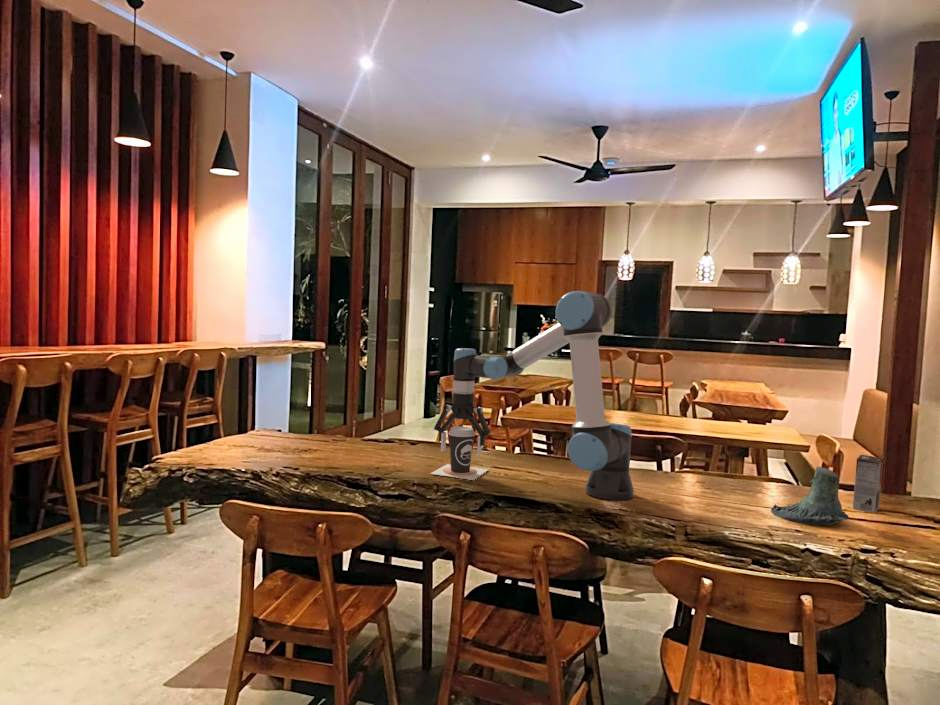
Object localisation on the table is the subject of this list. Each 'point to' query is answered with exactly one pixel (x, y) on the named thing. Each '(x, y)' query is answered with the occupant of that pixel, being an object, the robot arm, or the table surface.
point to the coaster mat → (470, 475)
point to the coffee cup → (461, 448)
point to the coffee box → (868, 483)
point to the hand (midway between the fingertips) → (461, 452)
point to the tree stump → (816, 502)
